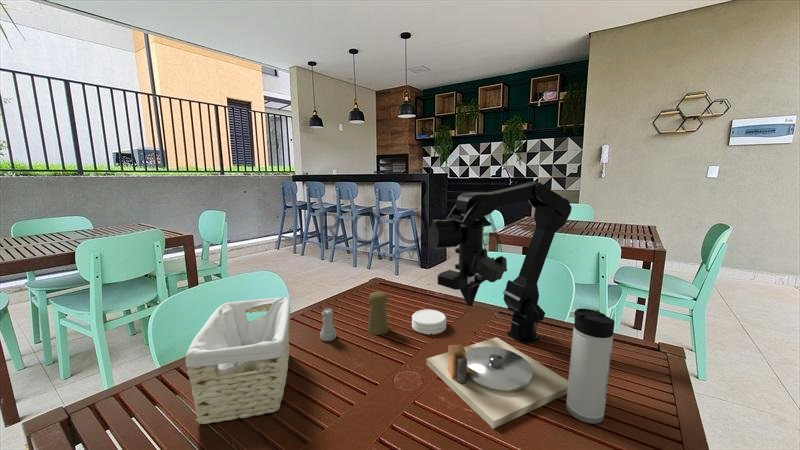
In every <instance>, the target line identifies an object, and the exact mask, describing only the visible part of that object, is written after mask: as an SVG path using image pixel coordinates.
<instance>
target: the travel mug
mask: <svg viewBox="0 0 800 450" xmlns="http://www.w3.org/2000/svg"><path fill="white" fill-rule="evenodd" d="M573 312H574V313H573V316H574V324H573V330H572V340H571V349H570V360H569V361H570V362H569V371H568V390H567V394H566V403H565V407H566V410H567V412H568V413H569V414H570V415H571V416H572V417H573V418H575V419H577V420H579V421H581V422H583V423H585V424H586V423H587V424H592V425H593V424H594V425H595V424H599V423H601V422H603V420H604V418H605V411H606V410H605V409H606V403H607V394H608V393H607V392H608V385H609V378H610V377H609V376H610V369H611V368H610V367H611V359H612V350H613V343H614V331H615V330H614V329H615V323H616V322H615V320H614V319H613V318H612V317H609V316H607V315H606V314H605V313H602V312H600V311H597V310H593V309H589V308H577V309H575V310H574V311H573Z"/></svg>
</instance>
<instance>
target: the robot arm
mask: <svg viewBox="0 0 800 450" xmlns="http://www.w3.org/2000/svg"><path fill="white" fill-rule="evenodd" d="M527 201H528V203H529V205H530V206H531V207H533V208H534V214H533V218H534V223H535V228H534V232H533V234H532V237H531V239H530V243H529V246H528V248H527V250H526V251H527V252H526V254H525V257H524V259H523V261H522V262H523V263H522V265H521V268H520V271H519V274H518V276H517V277H515V279H513V280H510V279H509V280H507V282H506V286H505V289H504V291H503V292H502V294H503V301H504V304H505V305H506V307H507V309H508V311H509V312H511V313H512V316H511V322H510V323H511V324H510V330H507V332H506V334H507V335H509V336H510V337H512V338H513V339H516V340H517V341H519V342H521V343H522V344H525V345H526V344H528V343H531V342H535V341H537V340H539V339H541V338H542V337H541V335H539V334H538V333H537V326H538V324H539V323H540V322H541V321H544V318H545V316H546V312H545V311H544V309H543V308H542V307H541V306H539V304H538V303H539V298H540V292H539V286H538V282H539V279H540V276H541V274H542V271H543V267H544V265H545V262H546V259H547V257H548V254H549V251H550V248H551V245H552V243H553V240H554V238H555V234H556V233H557V232H558V231H559V230H560V229H561V228H563V226H564V225H565V224H566V223H567V221H568V219H569V217H570V216H571V213H572V208H573V207H572V205H571V203H570V201H569V199H568V198H565V197H562V196H561V195H560V194H558V192H557V193H556V192H555V191H553V190H551V189H549V187H547V186H546V185H544V184H543V183H542V182H537V181H535V182H534V181H528V182H526V183H523V184H519V185H516V186H515V185H514V186H511V187H507V188H503V189H502V188H501V189H498V190H494V191H488V192H463V193H460V194H459V195H458V196H457V199H456V201H455V205H454V206H453V208H452V209H451V211H450V212H449V214H448V215H447V217H446V219H432V220H431V225H430V227H429V229H428V232H427V239H428V240H427V241H428V243H429V246H430V248H431V249H432V250H439V249H447V248H448V249H449V248H455V250H454V253H455V254H458V263H456V264H455V265H454V269H455V270H459V271H455V270H453V269H448V270H445V271H442V272H439V274H437V285H439V286H443V287H445V288H448V289H452V290H456V291H457V290H458V291H460V293H461V295H462V297H463V300H464V301H465V303H466V305H467V306H469V307H471V306H473V305H474V301H475V299H476V295H477V293H478V290H479V288H480V286H481V284H483V283H485V282H486V281H488V282H490V283H495V282H497V281H499V280H501V279H502V277H503V275H504V273H505V272H507V271H508V267H507V266H508V264H507V263H508V261H507V258H506V257H505V256H504V255H503V256H502V255H499V256H497V257H496V258H495V257H490V256H488V250H487V248H484V247H483V246H484V227H490V226H492V223H491V221H489V220H488V219H487V216H489V215H491V214H492V213H493V212H494V211H495V210H497V209H499V208H504V207H507V206H511V205H514V204H515V205H516V204H519V203H522V202H527ZM456 247H457V248H456Z"/></svg>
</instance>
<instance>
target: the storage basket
mask: <svg viewBox="0 0 800 450" xmlns="http://www.w3.org/2000/svg"><path fill="white" fill-rule="evenodd" d="M259 312H260V313H261V312H267V313H266V314H265V315H263V316H260V317H258V318H256V319H254V320H250V321H248V319H247V314H246V313H249V314H251V313H259ZM290 318H291V300H290V298H289V297H288V296H283V297H273V298H271V297H270V298H261V299H251V300H250V299H249V300H241V301H231V302H224V303H223V304H221V305H219V306H218V307H217V308H216V309H215V310H214V312H213V313H211V315H210V317H208V319H207V320H206V322H205V323H204V324H203V326H202V328H201V329H200V330H199V331H198V333H197V334H196V336H195V337H194V338H193V339H192V341H191V342H190V345H189V347H188V349H187V352H186V354H185V367H186V368H187V375H188V377H189V382H190V384H191V385H190V386H191V389H192V390H191V394H192V397H193V402H194V404H193V405H194V408H195V411H196V413H195V414H196V417H197V418H196V419H195V421H196V422H198V424H199V425H200V424H202V425H203V424H204V425H206V424H207V425H208V424H211V423H220V422H224V421H232V420H237V419H247V418H250V417H253V416H261V415H264V414H271V413H276V412H277V411H279V410H280V408H281V402H282V400H283V397H284V393H285V392H284V390H285V386H286V384H287V383H286V382H287V376H288V369H289V358H290V344H289V343H290V332H289V331H290Z"/></svg>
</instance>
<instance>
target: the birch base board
mask: <svg viewBox="0 0 800 450" xmlns="http://www.w3.org/2000/svg"><path fill="white" fill-rule="evenodd" d="M486 346H487V347H498V348H503V349H506V350H509V351H512V352H514V353H516V354H518V355H520V356H521V357H523V358H524V359H525V360H526V361H527V362H528V363H529V364H530V366H531V367H532V371H533V374H532V381H531V383H530V384H529V385H528V386H527V387H526V388H524V389H522V390H519V391H514V392H499V391H493V390H489V389H486V388H483V387H481V386H479V385H477V384H475V383H473V382H472V381H470V380H469V379H468V378H467V358H465V357H458V358H457V377H454V378H451V376H450V373H449V371H448V351H447V352H444V353H440V354H437V355H434V356H431V357H427V358H426V366H427V367H428V368H430V370H431V371H432V372H434V373H435V374H436V376H438V377H439V378H440V379H441V380H442V381H443V382H444V384H446V385H447V386H448V387H449V388H450V389H451V390H452V391H453V392H454V393H455V394H457V396H458V397H460V398H461V399H462V401H463V402H464V403H466V404H467V405H468V406H469V407H470V408H471V409H472V410H473V411H474V412H475V413H476V414H477V415H478V416H479V417H480V418H481V419H482V420H483V421H484V422H486V423H487V424H488V425H489V426H490V428H491V429H492V430H494V429H496V428H498V427H500V426H502V425H505V424H506V423H508V422H510V421H513V420H515V419H517V418H519V417H521V416H523V415H526V414H527V413H531V411H532V412H533V410H536V409H538V408H540V407H542V406H544V405H546V404H549V403H551V402H552V401H554V400H557V399H559V398H561V397H563V396H565V395H566V396H567V390H568V380H569V379H568V380H567V379H566V378H564V377H562V376H561V375H559V374H557V372H555V371H552V369H550V368H548V367H546V366H544V365H543V364H541V363H540V362H538V361H537V360H535V359H533V358H532V357H530V356H528V355H526V354H525V353H523V352H522V351H520V350H519V349H517V348H515V347H514V346H512V345H510V344H508V343H507V342H505V341H504V340H502V339H501V338H499V337H497V336H496V337H494V338H493V337H492V338H489V339H486V340H483V341H479V342H476V343H473V344H470V345H467V346H463V348H464V349H465V351H466V352H467V351H468V350H470V349H473V348H477V347H486Z"/></svg>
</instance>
